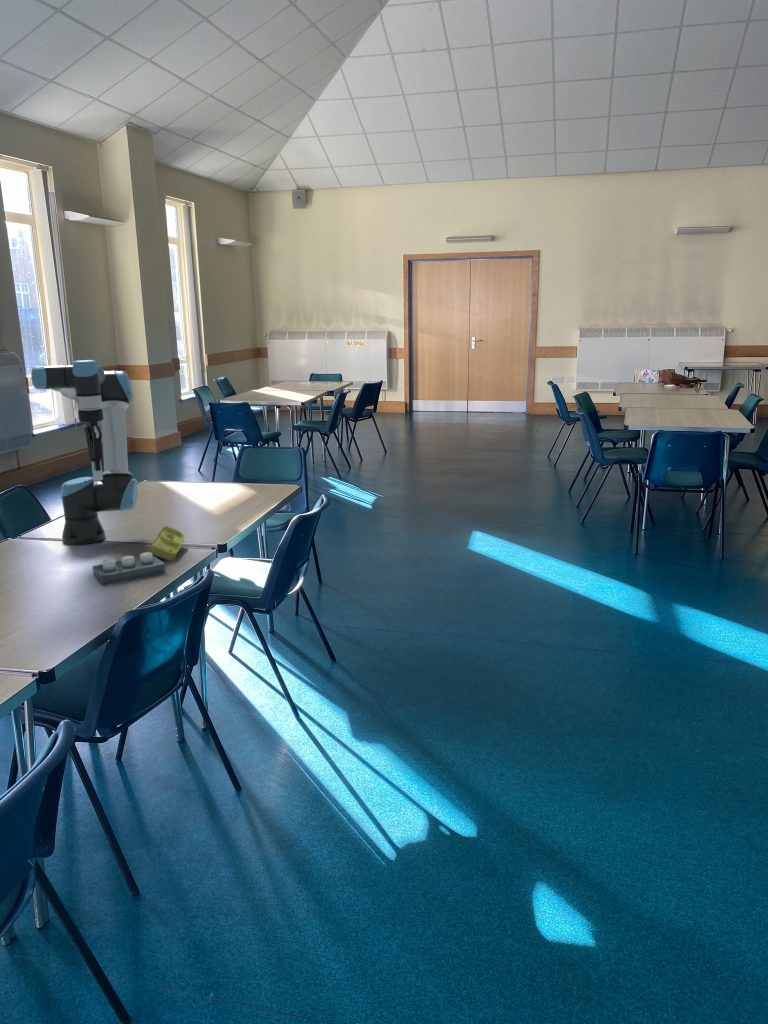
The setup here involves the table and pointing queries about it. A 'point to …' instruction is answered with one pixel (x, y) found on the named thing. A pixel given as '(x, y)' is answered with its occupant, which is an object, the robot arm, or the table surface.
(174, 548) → the plastic component
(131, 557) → the knob mid
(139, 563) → the mount
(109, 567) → the knob
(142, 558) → the knob
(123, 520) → the table surface
